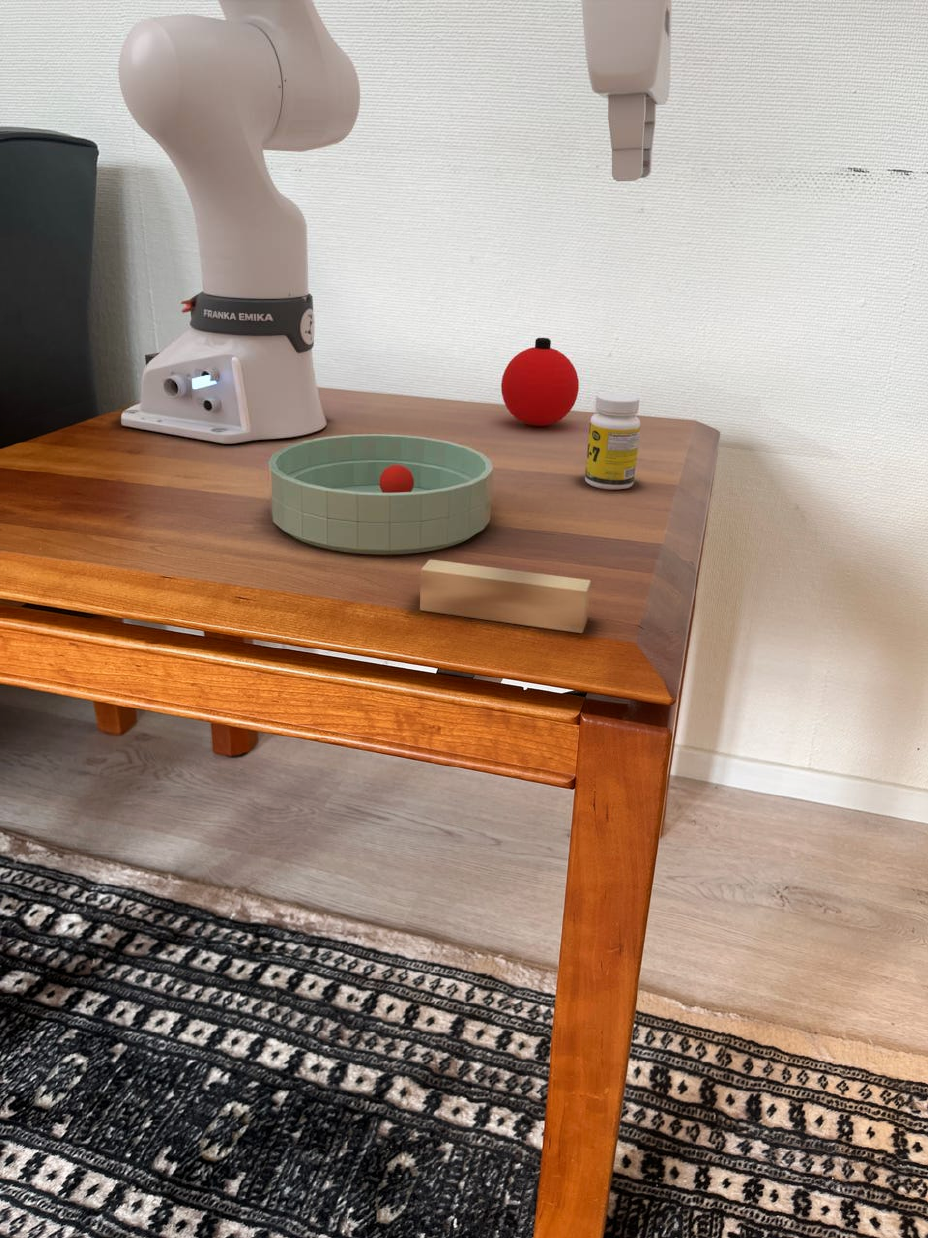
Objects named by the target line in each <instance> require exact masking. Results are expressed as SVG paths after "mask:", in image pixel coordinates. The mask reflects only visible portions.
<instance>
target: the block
mask: <svg viewBox="0 0 928 1238" xmlns="http://www.w3.org/2000/svg"><path fill="white" fill-rule="evenodd" d="M591 583H592V581H591V580H590V579H585V578H584V579H583V578H577V577H570V576H569V577H568V576H561V575H554V574H546V573H545V574H544V573H538V572H532V571H531V572H529V571H523V570H517V569H516V570H515V569H508V568H507V569H506V568H499V567H492V566H484V565H477V564H476V565H475V564H468V563H461V562H453V561H447V560H446V561H445V560H440V559H439V560H438V559H431V558H429V559H428V560H427V562H426V563H424V565H423V566H422V567H421V568H420V589H419V591H420V593H419V600H420V601H419V610H420V611H423V612H428V613H436V614H442V615H444V614H445V615H449V616H457V617H463V618H469V619H470V618H471V619H477V620H484V621H485V620H486V621H491V622H492V621H493V622H499V623H506V624H513V625H519V626H528V627H534V628H540V629H547V630H555V631H562V632H567V633H568V632H569V633H577V634H583V633H584V630H585V627H586V624H587V621H588V613H589V602H590V594H591V593H590V592H591Z"/></svg>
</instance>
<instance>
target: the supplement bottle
mask: <svg viewBox="0 0 928 1238" xmlns="http://www.w3.org/2000/svg"><path fill="white" fill-rule="evenodd" d="M639 406H640V398H639V397H638V396H637V395H634V394H630V393H624V392H616V391H614V392H613V391H608V392H607V391H605V392H599V393H597V394H596V397H595V404H594V410H595V412H596V413H594V414H593V415H592V416H591V418H590V420H589V431H588V439H587V440H588V441H587V449H586V450H587V451H586V459H585V460H586V461H585V471H584V473H585V474H584V480H585V483H587V484H588V485H590V486H591V487H594V488H597V489H602V490H613V491H614V490H625V489H630V488H631V487H632V486H634V483H635V475H636V469H637V468H636V467H637V459H638V451H639V442H640V433H641V420H640V418H638V417H637V416H636V415H637V414H638V413H639Z"/></svg>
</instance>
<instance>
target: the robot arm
mask: <svg viewBox="0 0 928 1238" xmlns="http://www.w3.org/2000/svg"><path fill="white" fill-rule="evenodd" d="M580 1H581V13H582V25H583V37H584V48H585V58H586V59H585V60H586V66H587V72H588V73H587V74H588V78H589V82H590V86H591V90H592V91H593V92H594V93H595V94H596V95H599V96H601V97H602V98H604V99H605V100H608V103H607V106H608V107H607V114H608V115H607V121H608V129H609V130H608V131H609V138H610V147H611V176H612V178H613V180H614V181H616V182H634V181H637V180H639V179H643V178H644V179H645V178H647V177H648V176H650V175H651V174H652V159H653V146H654V145H653V144H654V136H655V130H656V117H657V116H656V114H657V106H664V105H666V104H667V102H668V100H669V94H670V88H671V87H670V86H671V85H670V83H671V53H672V51H671V49H672V0H580ZM217 2H218V3H219V6H220V8H221V10H222V13H223V16H224V18H225V19H221V18H216V17H209V16H202V15H197V14H189V13H188V14H173V15H163V16H157V17H149V18H144V19H140V20H139V21H138V22H136V23H135V24H134V25H133V26H132V27H131V28H130V31H128V33H127V35H126V36H125V38H124V41H123V43H122V47H121V50H120V53H119V59H118V68H117V69H118V81H119V82H118V84H119V88H120V93H121V95H122V98H123V101H124V103H125V106H126V108H127V110H128V112H129V113H130V115H131V116H132V118H133V120H134V121H135V122H136V123H137V125H138V126H139V128H141V129H142V130H143V131H144V132H145V133H147V134H148V135H149V136H150V137H151V138H152V140H154V141H155V142H156V143H157V144H158V145H159V146H160V148H161V149H162V150H163V151H164V152H165V154H166V155H167V156H168V158H169V159H170V161H171V163H172V164H173V165H174V167H175V169H176V171H177V173H178V174H179V177H180V178H181V180H182V183H183V185H184V187H185V189H186V192H187V194H188V197H189V200H190V203H191V206H192V210H193V214H194V218H195V224H196V225H195V226H196V232H197V239H198V240H197V241H198V247H199V249H198V250H199V256H200V259H199V260H200V267H201V279H202V280H201V281H202V291H201V292H199V293H196V294H195V295H194V296H192V297H191V298H190V299H186V300H182V301H181V302H180V304H181V305H185V307H183V308H182V309H181V313H182V314H184V313H189V312H190V321H189V326H190V327H189V328H188V329H187V330H185V331H183V333H182V334H181V335H179V336H178V337H177V338H176V339H175V340H173V341H172V342H171V343H170V344H168V345H167V346H166V347H165V348H164V349H163V350H162V351H160V352H154V353H149V354H145V355H144V360H145V367H144V370H143V372H142V376H141V381H140V382H141V384H140V402H138V403H137V404H134V405H132V406H130V407H129V408H126V409H125V410H123V412H122V413H121V415H120V423H121V426H123V427H128V428H133V429H139V430H146V431H150V432H155V433H162V434H168V435H174V436H177V437H178V436H179V437H184V438H190V439H195V440H200V441H206V442H211V443H219V444H227V445H228V444H239V443H246V442H252V441H259V440H277V439H287V438H294V437H301V436H305V435H309V434H313V433H316V432H318V431H321V430H323V429H324V428H325V427H326V426H327V424H328V422H327V420H326V417H325V413H324V409H323V407H322V403H321V399H320V395H319V389H318V383H317V379H316V373H315V364H314V357H313V349H314V346H315V345H314V343H315V332H316V331H315V330H316V329H315V328H316V327H315V324H316V323H315V314H314V299H313V297H314V296H313V295H312V294H311V293H310V291H309V256H308V255H309V253H308V252H309V251H308V226H307V220H306V218H305V215H304V213H303V212H302V210H301V209H300V207H299V206H298V205H297V204H296V203H295V202H294V201H293V200H291V199H289V198H288V197H287V196H286V195H284V194H282V193H281V192H280V191H279V189H278V188H277V186H276V185H275V183H274V182H273V179H272V177H271V176H270V173H269V169H268V167H267V164H266V159H265V154H264V151H279V152H297V153H298V152H299V153H301V152H307V151H312V150H317V149H322V148H326V147H330V146H333V145H337V144H339V143H341V142H343V141H344V140H345V139H346V138H347V137H348V136H349V134H350V133H351V132H352V130H353V128H354V126H355V125H356V122H357V119H358V115H359V112H360V106H361V86H360V81H359V77H358V73H357V70H356V68H355V67H356V66H355V65H354V64H353V61H352V59H351V58H350V56H349V55H348V54H347V53H346V52H345V51H344V50H343V49H342V48H341V47H340V45H339V44H338V43H337V42H336V40H335V38H333V37H332V35H331V34H330V32H329V31H328V29H327V27H326V26H325V23H324V22H323V19H322V18H321V16H320V14H319V12H318V10H317V7H316V5H315V2H314V1H313V0H217Z"/></svg>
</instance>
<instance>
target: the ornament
mask: <svg viewBox="0 0 928 1238" xmlns="http://www.w3.org/2000/svg"><path fill="white" fill-rule="evenodd" d="M534 344H535V345H534V346H533V347H529V348H526V349H524V350H522V351H521V352H519V353H518V354H516V355H514V356H513V358H512V359H511V360H510V361H509V362H508V365H507V366H506V368H505V369H504V372H503V374H502V378H501V384H500V389H501V391H500V392H501V396H502V400H503V403H504V406H505V408H506V409H507V410H508V411H509V413H510V414H511V415H512V416H513V417H514V418H515V419H516V420H518V421H520V422H521V423H523V424H525V425H528V426H533V427H546V426H550V425H552V424H555V423H558V422H559V421H561V420H562V419H564V418H565V417H566V416H567V415H568V414H569V413H570V412H571V411H572V409H573V407H574V406H575V404H576V401H577V399H578V395H579V390H580V389H579V388H580V385H579V383H580V381H579V377H578V372H577V370H576V367H575V366H574V365H573V363H572V361H571V360H570V359H569V358H568V357H567V355H565V354H564V353H562V352H561V351H559V350H557V349H555V348H552V347H551V345H552V340H551V339H550V338H549V337H537V338H536V339H535V341H534Z"/></svg>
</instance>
